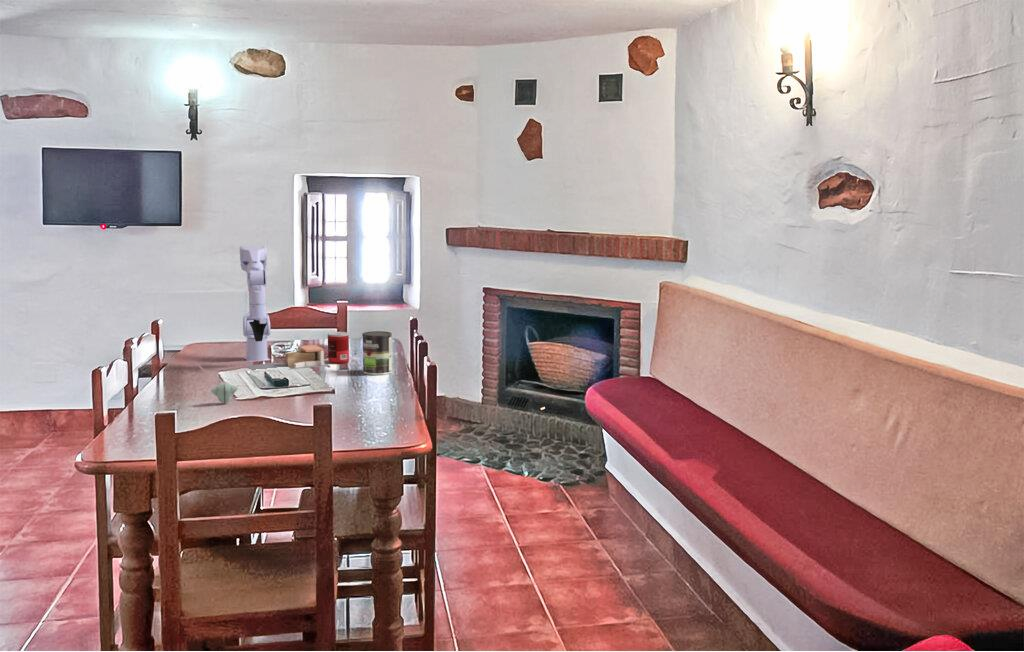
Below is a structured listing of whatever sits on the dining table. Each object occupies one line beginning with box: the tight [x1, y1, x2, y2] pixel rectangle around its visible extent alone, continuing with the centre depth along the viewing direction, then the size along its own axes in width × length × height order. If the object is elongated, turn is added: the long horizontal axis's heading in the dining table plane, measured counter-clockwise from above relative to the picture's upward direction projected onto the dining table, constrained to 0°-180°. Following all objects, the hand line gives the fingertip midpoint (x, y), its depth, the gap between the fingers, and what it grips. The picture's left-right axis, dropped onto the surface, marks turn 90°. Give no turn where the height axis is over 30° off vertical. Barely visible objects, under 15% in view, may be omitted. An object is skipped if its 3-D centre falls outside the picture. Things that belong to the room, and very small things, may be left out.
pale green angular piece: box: [210, 381, 239, 405], centre depth 279 cm, size 8×4×7 cm, turn 109°
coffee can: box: [361, 330, 393, 376], centre depth 327 cm, size 10×10×14 cm
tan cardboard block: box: [284, 351, 315, 367], centre depth 338 cm, size 4×10×4 cm, turn 119°
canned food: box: [327, 331, 350, 365], centre depth 346 cm, size 8×8×11 cm
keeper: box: [245, 344, 331, 371], centre depth 336 cm, size 14×27×7 cm, turn 119°
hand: (258, 341), depth 333 cm, fingers closed
